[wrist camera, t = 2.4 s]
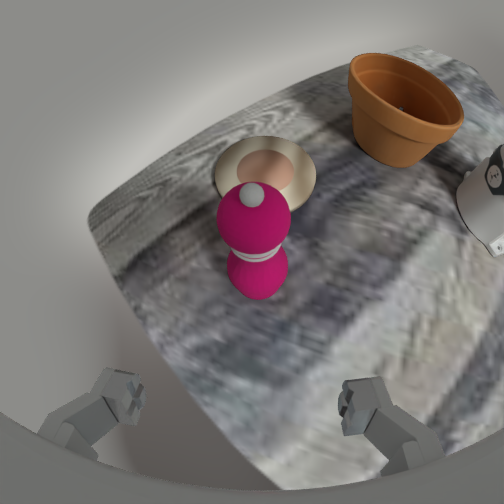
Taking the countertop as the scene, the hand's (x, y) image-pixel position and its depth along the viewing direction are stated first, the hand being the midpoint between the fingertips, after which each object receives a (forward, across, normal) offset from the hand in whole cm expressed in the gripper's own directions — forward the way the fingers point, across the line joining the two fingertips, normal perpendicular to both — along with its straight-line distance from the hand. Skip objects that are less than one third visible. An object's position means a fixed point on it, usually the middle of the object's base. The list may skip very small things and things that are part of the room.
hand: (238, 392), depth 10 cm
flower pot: (+45, -25, -11) cm, 53 cm away
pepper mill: (+26, 0, +8) cm, 28 cm away
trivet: (+38, -1, -4) cm, 38 cm away
